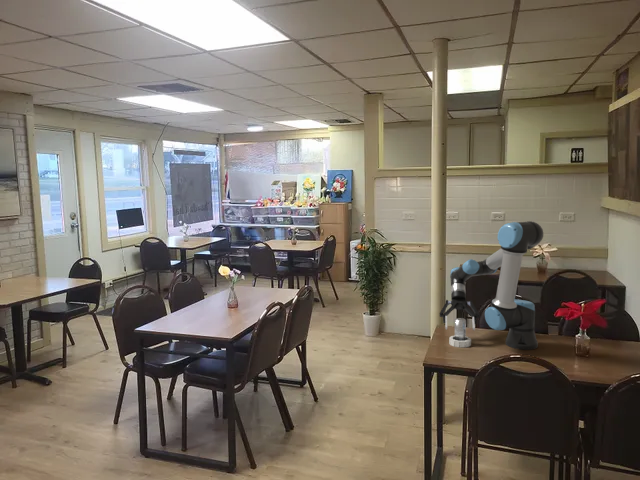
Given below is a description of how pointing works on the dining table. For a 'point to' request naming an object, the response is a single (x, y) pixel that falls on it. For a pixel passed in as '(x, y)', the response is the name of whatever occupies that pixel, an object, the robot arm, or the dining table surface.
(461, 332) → the metal cylinder
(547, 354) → the dining table surface
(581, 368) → the dining table surface
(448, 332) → the dining table surface
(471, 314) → the robot arm
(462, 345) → the socket
